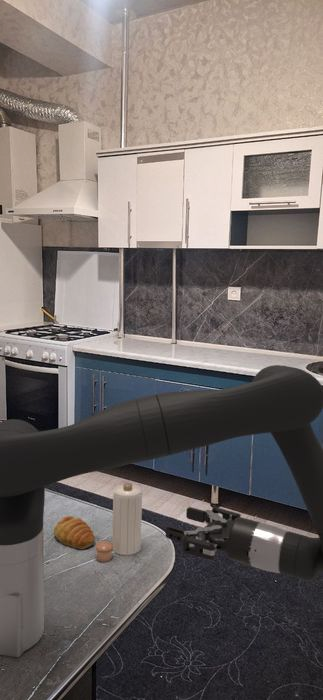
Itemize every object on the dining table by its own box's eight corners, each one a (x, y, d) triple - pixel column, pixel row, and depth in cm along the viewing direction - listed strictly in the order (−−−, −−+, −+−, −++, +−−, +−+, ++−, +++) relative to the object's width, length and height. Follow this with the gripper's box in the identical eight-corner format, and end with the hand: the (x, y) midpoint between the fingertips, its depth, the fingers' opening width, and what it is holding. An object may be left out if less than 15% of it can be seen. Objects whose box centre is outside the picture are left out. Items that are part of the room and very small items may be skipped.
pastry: (103, 543, 104) (103, 526, 103) (76, 556, 99) (76, 538, 98) (75, 526, 110) (75, 510, 109) (49, 538, 105) (49, 521, 105)
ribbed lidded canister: (137, 556, 99) (138, 491, 97) (109, 553, 100) (110, 489, 98) (142, 541, 104) (144, 480, 102) (116, 538, 105) (117, 477, 103)
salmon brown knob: (110, 563, 96) (110, 550, 96) (93, 561, 97) (93, 548, 96) (114, 553, 99) (114, 541, 99) (98, 551, 100) (98, 539, 100)
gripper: (271, 508, 93) (193, 489, 101) (246, 543, 81) (159, 518, 89) (269, 545, 94) (192, 523, 102) (244, 585, 82) (158, 557, 90)
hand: (177, 521), depth 95 cm, fingers open, 8 cm apart
